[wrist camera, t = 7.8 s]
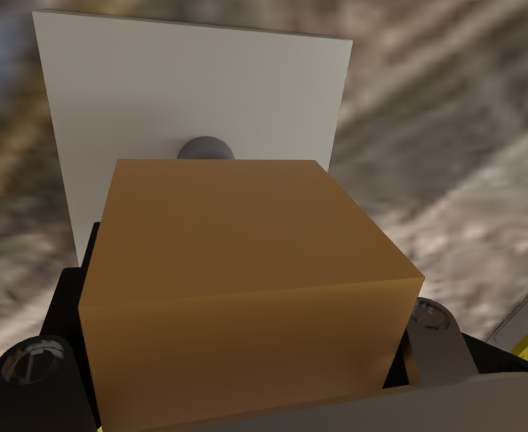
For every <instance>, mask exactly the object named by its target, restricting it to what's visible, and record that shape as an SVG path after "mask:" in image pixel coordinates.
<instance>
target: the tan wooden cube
mask: <svg viewBox="0 0 528 432" xmlns="http://www.w3.org/2000/svg"><path fill="white" fill-rule="evenodd" d="M424 279H425V276H424V275H423V274H422V273H421V272H420V271H419V270H418V269H417V268H416V267H415V266H414V265H413V263H412V262H411V261H410V260H409V259H408V258H407V257H406V256H405V255H404V254H403V253H402V252H401V251H400V250H399V249H398V248H397V246H396V245H395V244H394V243H393V242H392V241H391V240H390V239H389V238H388V237H387V236H386V235H385V234H384V233H383V232H382V231H381V229H380V228H379V227H378V226H377V225H376V224H375V223H374V222H373V221H372V220H371V219H370V218H369V217H368V216H367V215H366V213H365V212H364V211H363V210H362V209H361V208H360V207H359V206H358V205H357V204H356V203H355V202H354V201H353V200H352V199H351V198H350V196H349V195H348V194H347V193H346V192H345V191H344V190H343V189H342V188H341V187H340V186H339V185H338V184H337V183H336V182H335V181H334V179H333V178H332V177H331V176H330V175H329V174H328V173H327V172H326V171H325V170H324V169H323V168H322V167H321V166H320V165H319V164H318V162H317V161H316V160H250V159H117V162H116V166H115V169H114V173H113V177H112V181H111V185H110V188H109V192H108V196H107V200H106V203H105V207H104V211H103V215H102V219H101V222H100V226H99V230H98V234H97V237H96V241H95V245H94V249H93V253H92V256H91V260H90V264H89V268H88V271H87V275H86V279H85V283H84V287H83V290H82V294H81V298H80V302H79V305H78V310H79V315H80V320H81V325H82V330H83V335H84V340H85V345H86V350H87V355H88V360H89V365H90V370H91V375H92V380H93V385H94V390H95V395H96V400H97V405H98V410H99V415H100V420H101V425H102V430H103V432H135V431H140V430H146V429H152V428H157V427H163V426H169V425H175V424H180V423H186V422H192V421H197V420H203V419H209V418H215V417H220V416H226V415H232V414H238V413H243V412H249V411H255V410H261V409H267V408H273V407H279V406H284V405H290V404H296V403H302V402H308V401H314V400H320V399H326V398H332V397H338V396H344V395H350V394H356V393H362V392H368V391H374V390H380V389H382V387H383V385H384V382H385V380H386V377H387V375H388V372H389V369H390V367H391V364H392V362H393V359H394V357H395V354H396V351H397V349H398V346H399V344H400V341H401V338H402V336H403V333H404V331H405V328H406V326H407V323H408V320H409V318H410V315H411V313H412V310H413V308H414V305H415V302H416V300H417V297H418V295H419V292H420V290H421V287H422V284H423V282H424Z"/></svg>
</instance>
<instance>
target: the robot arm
mask: <svg viewBox="0 0 528 432" xmlns="http://www.w3.org/2000/svg"><path fill="white" fill-rule="evenodd" d="M99 226H100V222H94V224H93V227H92V231H91V234H90V238H89V241H88V244H87V248H86V251H85V255H84V258H83V261H82V265H81V267H72V268H64V269H63V271H62V273H61V276H60V278H59V281H58V284H57V287H56V290H55V292H54V295H53V298H52V301H51V304H50V306H49V309H48V312H47V315H46V318H45V320H44V323H43V326H42V329H41V332H40V334H39V336H35V337H31V338H28V339H26V340H23V341H21V342H19V343H17V344H16V345H14V346H13V347H11V348H10V349H8V350H7V351H6V352H5V353H4V354H3V355H2V356H1V357H0V432H98V431H97V429H98V428H99V427H101V426H102V425H101V420H100V415H99V410H98V405H97V400H96V395H95V390H94V385H93V380H92V375H91V370H90V365H89V360H88V355H87V350H86V345H85V340H84V335H83V330H82V325H81V320H80V315H79V310H78V305H79V302H80V298H81V294H82V290H83V287H84V283H85V279H86V275H87V271H88V268H89V264H90V260H91V256H92V253H93V249H94V245H95V241H96V237H97V234H98V230H99ZM135 432H528V361H527V360H525V359H523V358H521V357H518V356H516V355H514V354H511V353H509V352H507V351H504V350H502V349H500V348H497V347H495V346H492V345H490V344H488V343H485V342H483V341H481V340H478V339H476V338H474V337H471V336H469V335H467V334H464V333H462V332H461V331H460V329H459V326H458V324H457V322H456V319H455V318H454V316H453V315H452V313H451V312H450V311H449V310H448V309H447V308H445V307H444V306H442V305H441V304H439V303H438V302H435V301H433V300H431V299H427V298H423V297H417V300H416V302H415V305H414V308H413V310H412V313H411V315H410V318H409V320H408V323H407V326H406V328H405V331H404V333H403V336H402V338H401V341H400V344H399V346H398V349H397V351H396V354H395V357H394V359H393V362H392V364H391V367H390V369H389V372H388V375H387V377H386V380H385V382H384V385H383V387H382V389H380V390H374V391H368V392H362V393H356V394H350V395H344V396H338V397H332V398H326V399H320V400H314V401H308V402H302V403H296V404H290V405H284V406H279V407H273V408H267V409H261V410H255V411H249V412H243V413H238V414H232V415H226V416H220V417H215V418H209V419H203V420H197V421H192V422H186V423H180V424H175V425H169V426H163V427H157V428H152V429H146V430H140V431H135Z"/></svg>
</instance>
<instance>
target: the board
mask: <svg viewBox="0 0 528 432" xmlns="http://www.w3.org/2000/svg"><path fill="white" fill-rule="evenodd" d="M32 16H33V21H34V27H35V32H36V37H37V43H38V48H39V53H40V59H41V64H42V69H43V75H44V80H45V86H46V91H47V96H48V102H49V107H50V112H51V118H52V123H53V129H54V134H55V139H56V145H57V150H58V155H59V161H60V166H61V171H62V177H63V182H64V188H65V193H66V198H67V204H68V209H69V214H70V220H71V225H72V231H73V236H74V241H75V247H76V252H77V257H78V263H79V267H81V265H82V261H83V258H84V255H85V251H86V248H87V244H88V241H89V238H90V234H91V231H92V227H93V224H94V222H101V219H102V215H103V211H104V207H105V203H106V200H107V196H108V192H109V188H110V185H111V181H112V177H113V173H114V169H115V166H116V162H117V159H250V160H316V161H317V162H318V164H319V165H320V166H321V167H322V168H323V169H324V170H325V171H326V172H327V173H328V167H329V162H330V157H331V152H332V147H333V142H334V136H335V131H336V126H337V121H338V116H339V111H340V106H341V100H342V95H343V90H344V85H345V80H346V75H347V69H348V64H349V59H350V54H351V49H352V44H353V40H349V39H345V38H340V37H336V36H326V35H316V34H305V33H294V32H283V31H273V30H262V29H251V28H241V27H230V26H219V25H208V24H198V23H187V22H176V21H165V20H155V19H144V18H133V17H123V16H112V15H101V14H90V13H80V12H69V11H58V10H47V9H45V10H37V11H32Z"/></svg>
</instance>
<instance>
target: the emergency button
mask: <svg viewBox="0 0 528 432" xmlns="http://www.w3.org/2000/svg"><path fill="white" fill-rule="evenodd" d="M485 343H488V344H490V345H492V346H495V347H497V348H500V349H502V350H504V351H507V352H509V353H511V354H514V355H516V356H518V357H521V358H523V359H525V360H527V361H528V298H527V299H526V300H525V301H524V302H523V303H522V304H521V305H520V306H519V307H518V308H517V309H516V310H515V311H514V312H513V313H512V314H511V316H510V317H509V318H508V319H507V320H506V321H505V322H504V323H503V324H502V325H501V326H500V327H499V328H498V329H497V330H496V331H495V332H494V333H493V334H492V335H491V336H490V338H489V339H488V340H487V341H486V342H485Z"/></svg>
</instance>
